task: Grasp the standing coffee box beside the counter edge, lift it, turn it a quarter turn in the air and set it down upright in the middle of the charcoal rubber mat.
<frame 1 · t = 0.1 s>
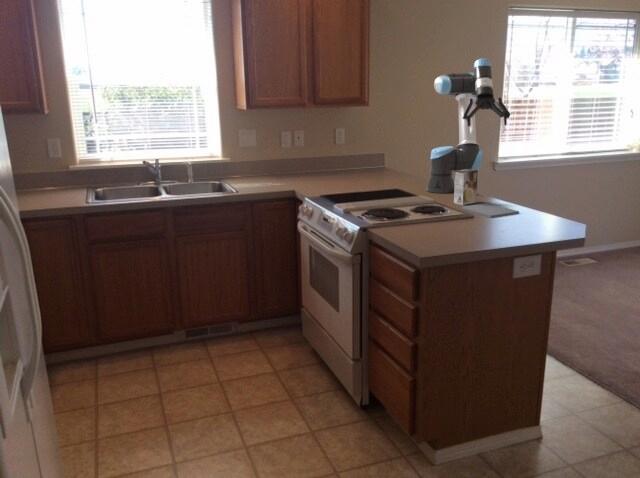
hand: (487, 131, 247), 36 cm above the worktop, tool tilted 35°, fingers open, 13 cm apart
mat: (489, 211, 256), on the worktop
coffee box: (464, 203, 273), on the worktop
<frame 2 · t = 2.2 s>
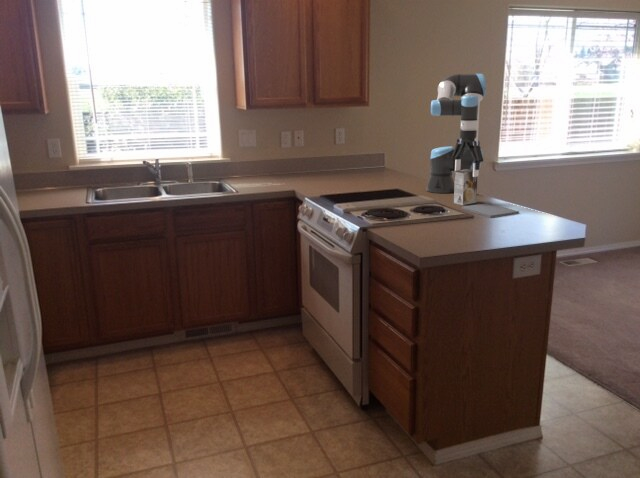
hand: (466, 174, 269), 14 cm above the worktop, tool pointing down, fingers open, 13 cm apart
nothing on the worktop moved.
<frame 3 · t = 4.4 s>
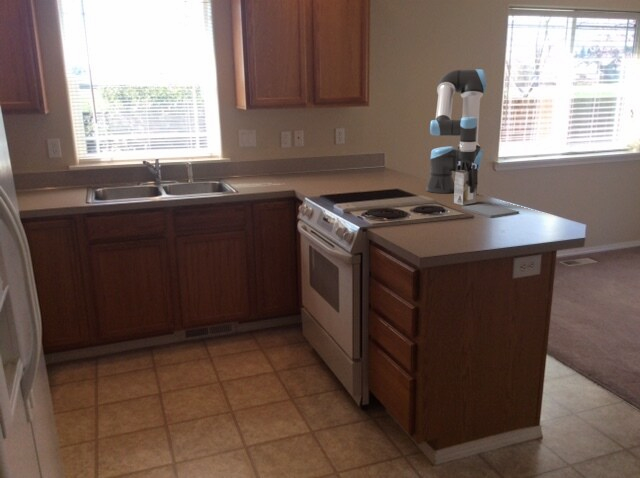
hand: (465, 197, 272), 3 cm above the worktop, tool pointing down, fingers closed on coffee box, 7 cm apart
coffee box: (464, 203, 273), on the worktop, touching gripper
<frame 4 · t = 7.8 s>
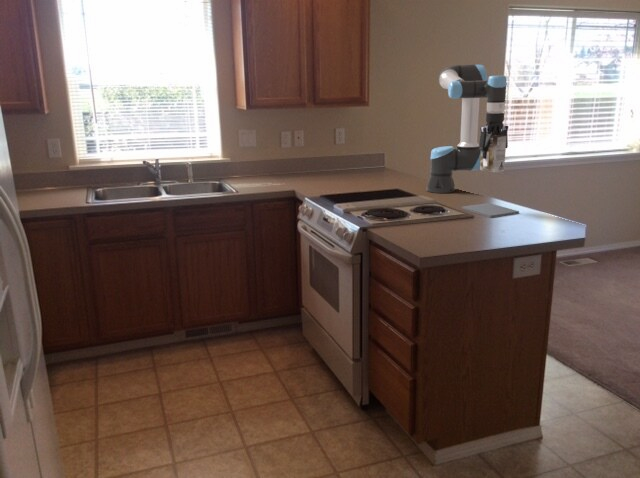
hand: (492, 165, 250), 21 cm above the worktop, tool pointing down, fingers closed on coffee box, 7 cm apart
coffee box: (491, 171, 251), point 18 cm above the worktop, touching gripper
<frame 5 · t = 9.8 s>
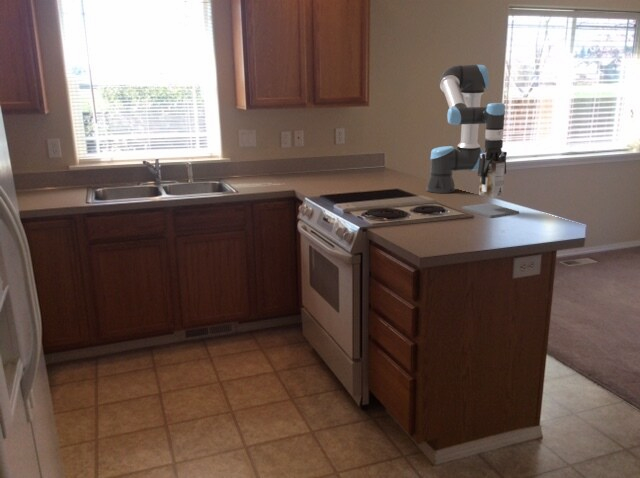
hand: (490, 190, 253), 10 cm above the worktop, tool pointing down, fingers closed on coffee box, 7 cm apart
coffee box: (490, 196, 254), point 7 cm above the worktop, touching gripper
when the fingers open (5 cm above the worktop, at t = 11.5 s): coffee box drops 1 cm, resting on mat.
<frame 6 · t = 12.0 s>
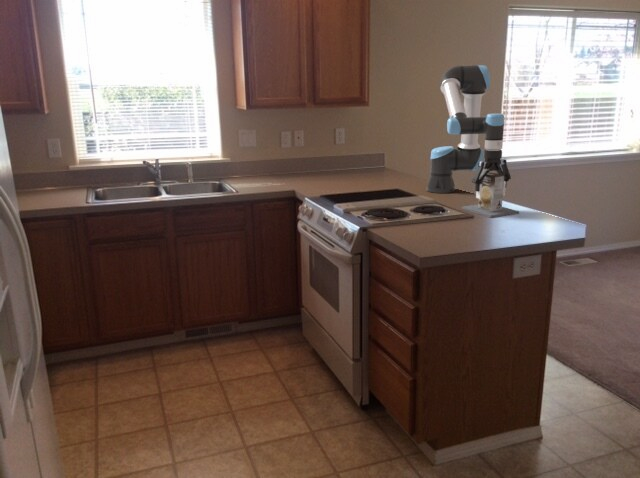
hand: (490, 196, 254), 7 cm above the worktop, tool pointing down, fingers open, 13 cm apart
coffee box: (489, 209, 256), point 1 cm above the worktop, touching mat
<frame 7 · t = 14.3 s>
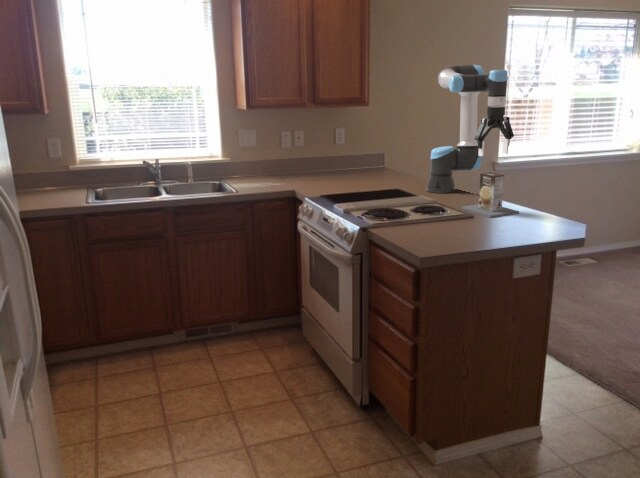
hand: (493, 154, 253), 25 cm above the worktop, tool pointing down, fingers open, 13 cm apart
nothing on the worktop moved.
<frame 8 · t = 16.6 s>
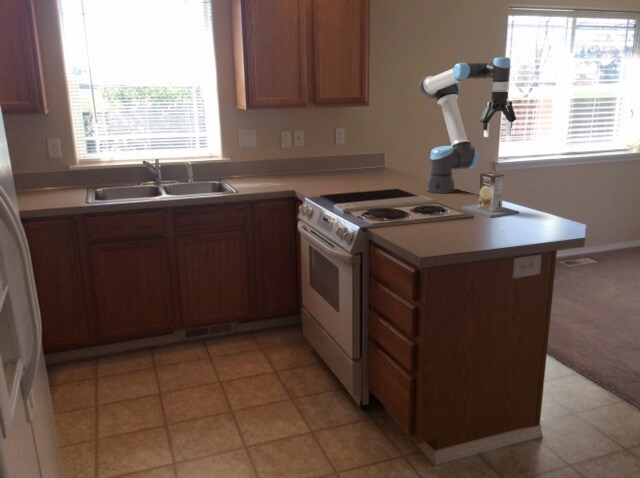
hand: (497, 136, 275), 31 cm above the worktop, tool pointing down, fingers open, 13 cm apart
nothing on the worktop moved.
at the end: coffee box inside the target area on the mat (0.1 cm from its centre), point 0.8 cm above the mat's base; coffee box tilted 0°; the gripper is holding nothing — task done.
